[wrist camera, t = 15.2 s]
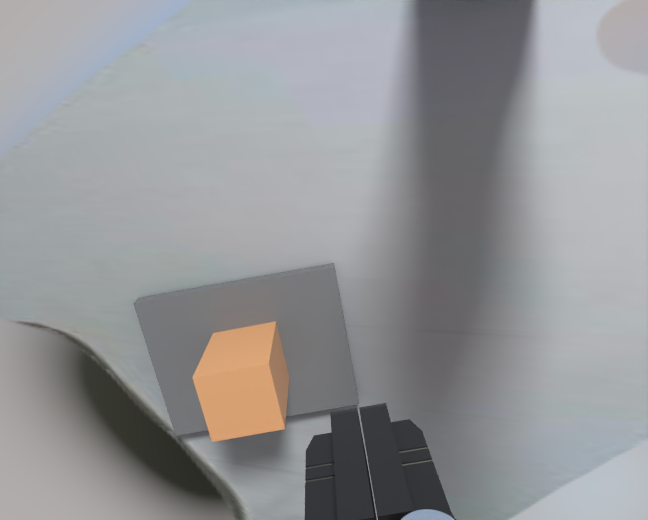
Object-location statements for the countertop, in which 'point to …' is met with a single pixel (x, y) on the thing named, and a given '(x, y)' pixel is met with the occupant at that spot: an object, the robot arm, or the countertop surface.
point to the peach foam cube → (243, 382)
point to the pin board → (243, 311)
